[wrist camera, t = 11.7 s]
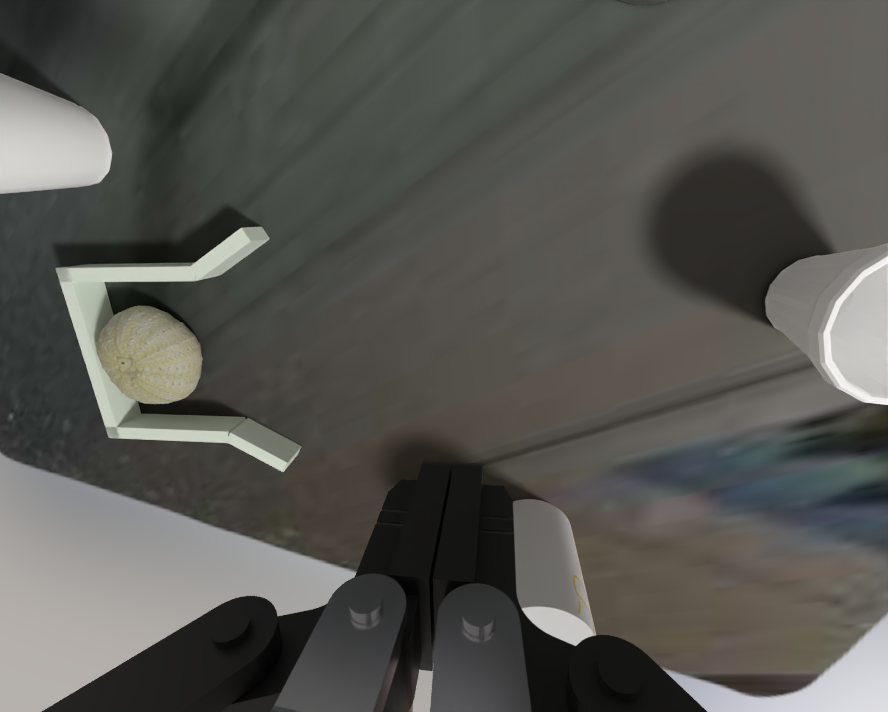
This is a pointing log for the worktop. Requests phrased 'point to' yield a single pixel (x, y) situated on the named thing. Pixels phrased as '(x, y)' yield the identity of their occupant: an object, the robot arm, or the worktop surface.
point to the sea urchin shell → (150, 355)
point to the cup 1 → (550, 572)
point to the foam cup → (48, 141)
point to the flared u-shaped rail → (124, 413)
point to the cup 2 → (838, 317)
